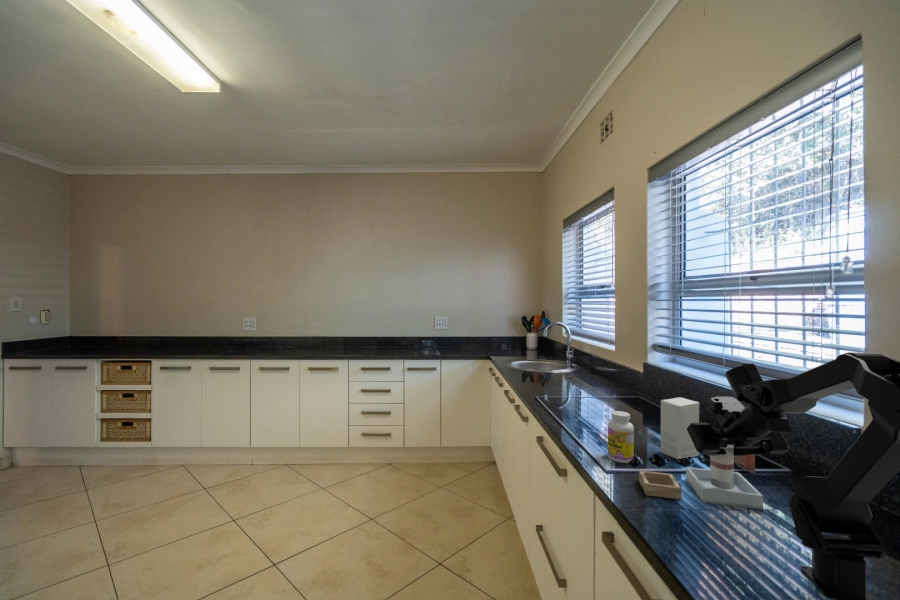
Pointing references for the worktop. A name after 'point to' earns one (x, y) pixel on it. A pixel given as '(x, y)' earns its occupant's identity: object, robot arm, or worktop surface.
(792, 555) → the worktop surface
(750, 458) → the lighter
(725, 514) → the worktop surface
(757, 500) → the tray
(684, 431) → the skincare box
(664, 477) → the holder
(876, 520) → the worktop surface
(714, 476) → the white domed canister
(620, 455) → the supplement bottle
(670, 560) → the worktop surface
